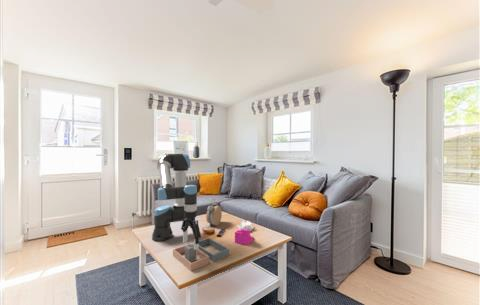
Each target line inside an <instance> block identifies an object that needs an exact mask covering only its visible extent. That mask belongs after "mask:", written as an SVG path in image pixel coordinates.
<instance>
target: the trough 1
mask: <svg viewBox="0 0 480 305" xmlns="http://www.w3.org/2000/svg"><path fill="white" fill-rule="evenodd" d="M190 244H191V243H188V244H185V245H183V246H178V247H175V248H173V249H172V257H173V258H175V259H176V260H177V261H178V262H180V263H181V264H182V265H183V266H184V267H186V268H187V270H189V271H191V272H192V271H194V270H196V269H199V268H201V267H205V266H206V265H209V264H210V259H209V256H208V255H206V254H205V253H203V252H202V251H200V250H199V249H196V257H197V258H200V259H198V260H194V261H191V262H189V261H188V260H187V259H186V258H185V256H183V253H185V246H187V245H190Z"/></svg>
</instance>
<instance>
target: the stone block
mask: <svg viewBox="0 0 480 305" xmlns="http://www.w3.org/2000/svg"><path fill="white" fill-rule="evenodd" d="M189 244H190V245H188V244H186V245H187V246H185V245H184V246H185V252H184V258H186V259H187V260H188V261H189V262H191V263H192V262H195V261H197V255H196V249H195V250H194V243H189Z"/></svg>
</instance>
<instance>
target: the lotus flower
mask: <svg viewBox="0 0 480 305" xmlns="http://www.w3.org/2000/svg"><path fill="white" fill-rule="evenodd" d="M236 226H237V227H238V229H239V230H242V229H248V230H250V232H251V231H253V229H254V227H253V225H252V223H251V221H249V220H247V221H246V220H244V219H242V220H241V221H240V222H239V224H237V225H236Z"/></svg>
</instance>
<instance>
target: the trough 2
mask: <svg viewBox="0 0 480 305" xmlns="http://www.w3.org/2000/svg"><path fill="white" fill-rule="evenodd" d="M206 245H210V246H212V247H213V248H215V249H217V250H219V251H218V252H216V253H212V252H211V251H209V250H207V249H206V248H204V247H203V246H206ZM198 249H199V250H200V251H202V252H203V253H205V254H206V255H208V256H209V261H212V262H215V261H218V260H220V259H223V258H225V257H228V256H230V249H229V248H228V247H226V246H225V245H223V244H221V243H219V242H217V241H215V240H214V239H212V238H210V237H207V238H203V239H201V240H200V239H199V248H198Z"/></svg>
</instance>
